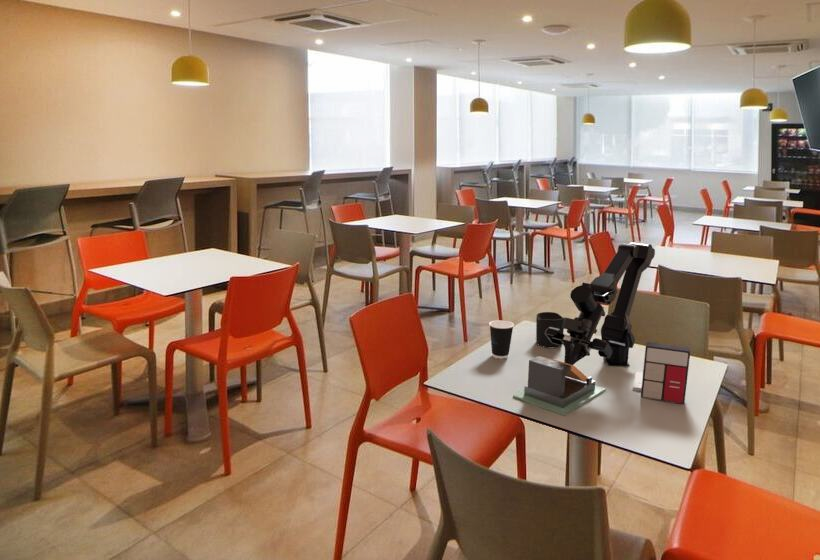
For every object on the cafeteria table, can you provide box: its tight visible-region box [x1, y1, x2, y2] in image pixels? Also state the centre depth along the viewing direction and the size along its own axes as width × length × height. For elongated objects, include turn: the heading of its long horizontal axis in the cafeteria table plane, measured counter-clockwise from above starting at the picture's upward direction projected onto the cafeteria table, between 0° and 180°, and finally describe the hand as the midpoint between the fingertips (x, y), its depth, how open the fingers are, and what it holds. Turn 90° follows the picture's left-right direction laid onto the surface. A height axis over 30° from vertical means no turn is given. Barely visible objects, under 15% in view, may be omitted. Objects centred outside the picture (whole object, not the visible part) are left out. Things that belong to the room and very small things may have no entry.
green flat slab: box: [512, 385, 606, 417], centre depth 171 cm, size 22×16×1 cm
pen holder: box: [535, 311, 565, 348], centre depth 210 cm, size 9×9×10 cm
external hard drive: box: [632, 371, 643, 392], centre depth 178 cm, size 2×8×12 cm
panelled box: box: [640, 342, 691, 405], centre depth 166 cm, size 11×4×15 cm, turn 67°
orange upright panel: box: [540, 355, 588, 382], centre depth 170 cm, size 2×10×11 cm
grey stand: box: [523, 355, 596, 408], centre depth 170 cm, size 17×12×10 cm
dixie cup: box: [488, 319, 515, 360], centre depth 198 cm, size 8×8×11 cm
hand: (565, 368), depth 171 cm, fingers closed, pressing on orange upright panel
